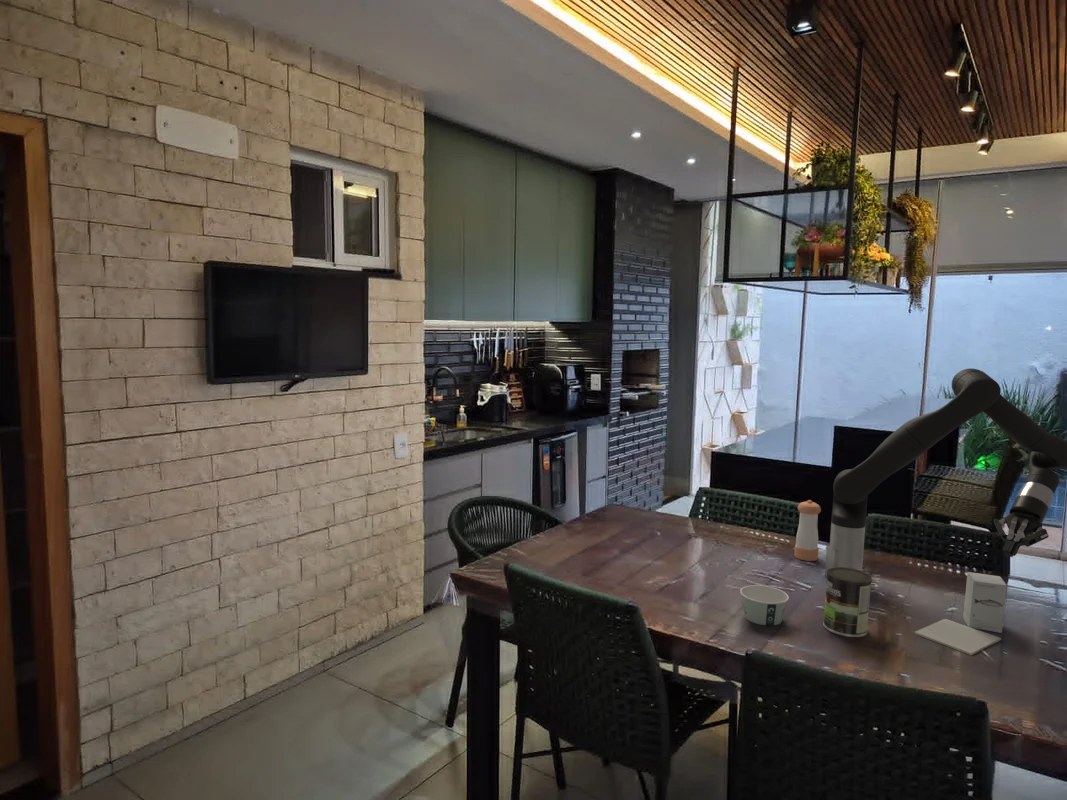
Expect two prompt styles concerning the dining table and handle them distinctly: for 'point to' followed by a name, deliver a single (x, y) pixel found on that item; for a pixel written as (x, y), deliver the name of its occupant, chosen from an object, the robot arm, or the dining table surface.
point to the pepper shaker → (807, 532)
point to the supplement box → (984, 602)
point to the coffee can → (847, 601)
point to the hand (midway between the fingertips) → (1007, 554)
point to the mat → (958, 636)
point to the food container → (763, 604)
